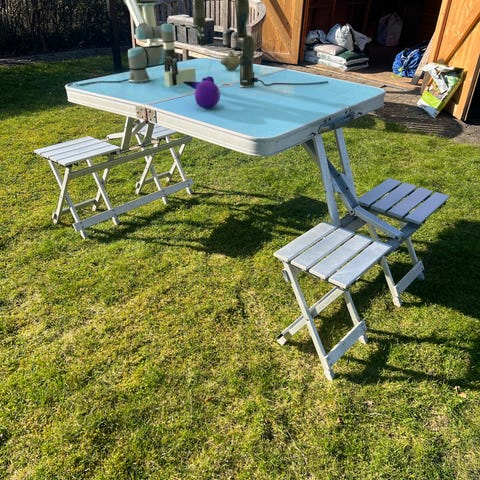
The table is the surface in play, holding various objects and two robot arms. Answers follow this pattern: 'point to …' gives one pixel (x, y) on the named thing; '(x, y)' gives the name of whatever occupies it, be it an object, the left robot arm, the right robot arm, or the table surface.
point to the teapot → (231, 61)
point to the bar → (180, 76)
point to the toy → (205, 92)
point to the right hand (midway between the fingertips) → (200, 45)
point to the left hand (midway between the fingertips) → (172, 84)
